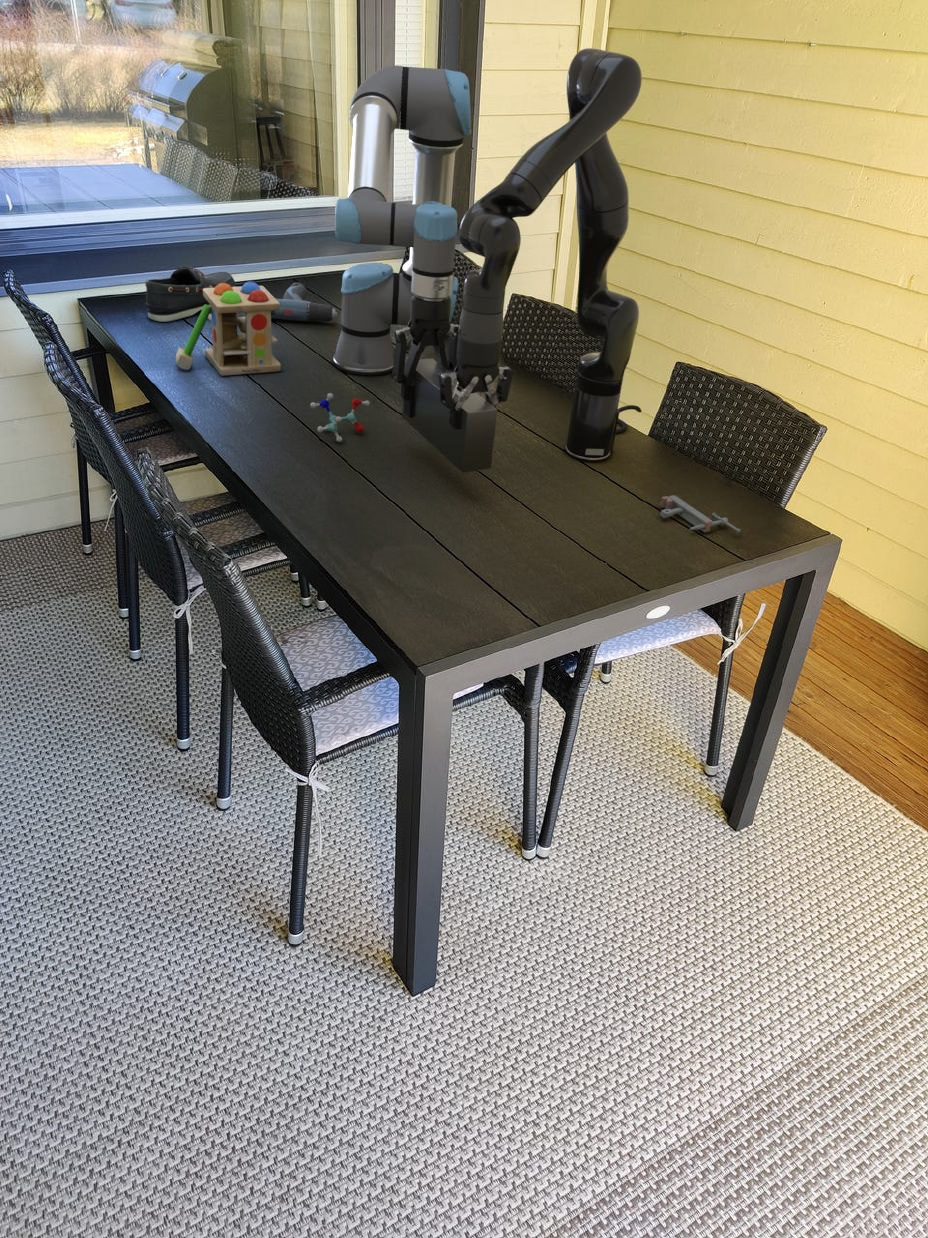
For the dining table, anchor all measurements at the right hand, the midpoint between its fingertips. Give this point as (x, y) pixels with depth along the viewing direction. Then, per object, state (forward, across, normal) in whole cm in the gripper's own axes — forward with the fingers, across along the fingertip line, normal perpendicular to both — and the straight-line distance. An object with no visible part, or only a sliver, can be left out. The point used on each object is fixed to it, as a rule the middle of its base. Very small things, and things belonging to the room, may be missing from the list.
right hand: (471, 425), depth 177 cm
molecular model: (+14, -13, +34) cm, 38 cm away
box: (+7, 0, +10) cm, 12 cm away
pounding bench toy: (+14, -23, +77) cm, 82 cm away
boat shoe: (+14, -19, +122) cm, 124 cm away
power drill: (+14, +9, +110) cm, 111 cm away
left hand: (+5, 0, +19) cm, 20 cm away
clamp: (+14, +36, -24) cm, 45 cm away
